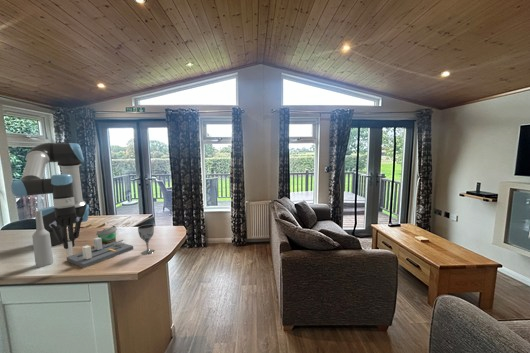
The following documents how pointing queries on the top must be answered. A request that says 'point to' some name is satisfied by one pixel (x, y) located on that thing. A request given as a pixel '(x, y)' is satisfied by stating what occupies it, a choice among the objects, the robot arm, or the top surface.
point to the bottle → (42, 243)
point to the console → (100, 254)
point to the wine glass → (146, 236)
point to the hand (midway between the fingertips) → (70, 254)
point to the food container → (107, 235)
